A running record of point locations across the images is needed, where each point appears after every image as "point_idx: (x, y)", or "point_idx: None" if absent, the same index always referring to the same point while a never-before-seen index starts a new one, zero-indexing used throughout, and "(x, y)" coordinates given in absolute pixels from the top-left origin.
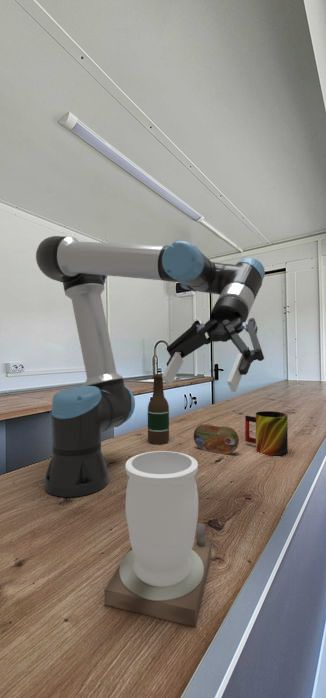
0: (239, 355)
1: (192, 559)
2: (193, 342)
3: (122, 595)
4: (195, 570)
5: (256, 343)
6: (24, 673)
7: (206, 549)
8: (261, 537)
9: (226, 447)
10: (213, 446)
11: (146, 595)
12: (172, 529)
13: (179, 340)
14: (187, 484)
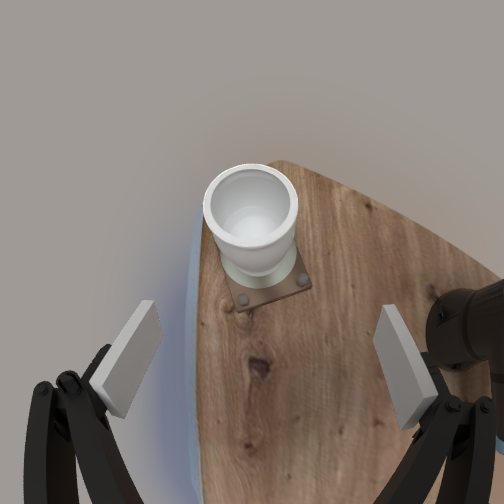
0: (100, 376)
1: (238, 274)
2: (394, 489)
3: None
4: (229, 263)
5: (36, 416)
6: (280, 165)
7: (235, 296)
8: (203, 369)
9: None
10: None
11: None
12: (224, 206)
13: (476, 459)
14: (211, 206)
